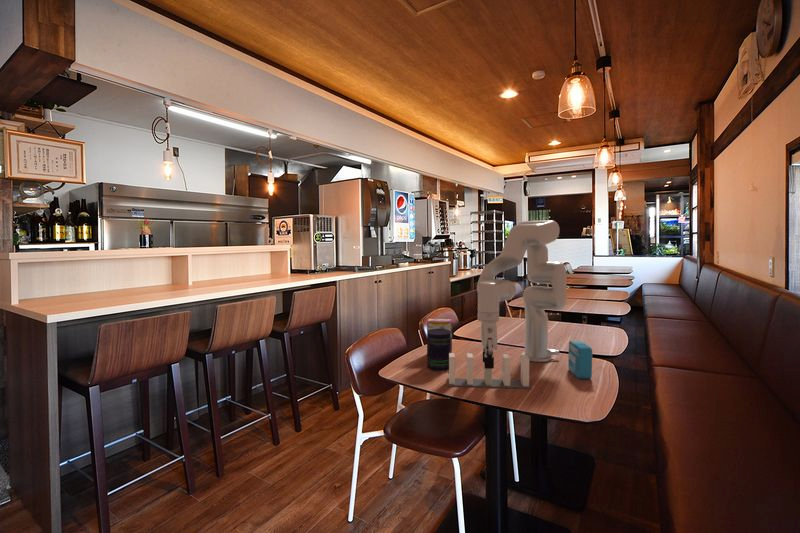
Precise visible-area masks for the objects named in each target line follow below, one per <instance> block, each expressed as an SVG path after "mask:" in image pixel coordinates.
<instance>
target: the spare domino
mask: <svg viewBox="0 0 800 533" xmlns="http://www.w3.org/2000/svg"><path fill="white" fill-rule="evenodd" d="M484 358H485V354H484ZM483 371H484V372H483V373H484V378H483V379H484V381H485V384H486V385H491V383H492V379H493V378H492V374H493V373H492V372H493V370H492V369H486V368H485V367H484V369H483Z"/></svg>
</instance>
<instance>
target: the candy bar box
mask: <svg viewBox="0 0 800 533" xmlns="http://www.w3.org/2000/svg"><path fill="white" fill-rule="evenodd" d="M426 323H427V324H426V326H427V328H426V332H427V331H428V330H431V329H446V330H449V331H451V334H450V335H451V346H450V353H453V352H452V351H453V349H452V348H453V319H448V318H446V319H445V318H444V319H443V318H427V322H426ZM427 354H428V345H427V344H426V355H427Z"/></svg>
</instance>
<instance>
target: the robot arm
mask: <svg viewBox="0 0 800 533" xmlns="http://www.w3.org/2000/svg"><path fill="white" fill-rule="evenodd" d="M559 235H560V226H559V224H558V222H556V221H555V220H552V219H551V220H526V221H521V222H519V223H518V224H514V225H513V226H512V227H511V228H510V230H509V233H508V234H507V237H506V240H505V242H504V244H503V245H504V246H503V248H502V249H501V250H502V251H501V252H500V254H499V255H498V256H496V257H495V258H493V259H492V260H491V261H490V262H488V263H487V264H486V266H484V268H482V271H481V273H480V276H479V278H478V281H477V284H476V292H477V321H478V322H480V337H481V345H482V362H483V366H484V367H485V368H486V369H494V368H495V357H494V350H498V325H497V322H499V321H500V301H510V300H512V299H513V298H514V297H515V295H516V293H517V288H516V285H515V283H514V282H513V281H510V280H508V279H498V278H495V277H496V276H497V275H498V274H500V273H503V272H504V271H508V270H510V269H513V268H515V267H518V266H520V265H521V264H522V263H523V260H524V257H525V255H526V276H527V277H526V278H527V280H528V281H530V282H531V283H535V284H543V285H544V284H547V285H551V286H545V285H544V286H541V285H531V286H527V287H526V288H524V290H523V293H522V299H523V304H524V317H525V318H524V351H523V352H522V353H521V354H520V356H521V355H527V356H528V357H529V362H533V363H543V362H544V363H545V362H550V361H551V360H552V356H553V355H554V356H560V350H556V349H549V346H548V345H549V316H548V314H547V313H546V311H545V310H552V311H562V310H563V309H564V308H565V307H566V304H567V284H568V283H567V276H568V275H567V268H566V266H565V264H564V263H562V262H560V261H549V249H548V247H547V245H549V244H550V243H551V244H552V242H555V241H557V239H558V237H559ZM484 354H485V358H484Z"/></svg>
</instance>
